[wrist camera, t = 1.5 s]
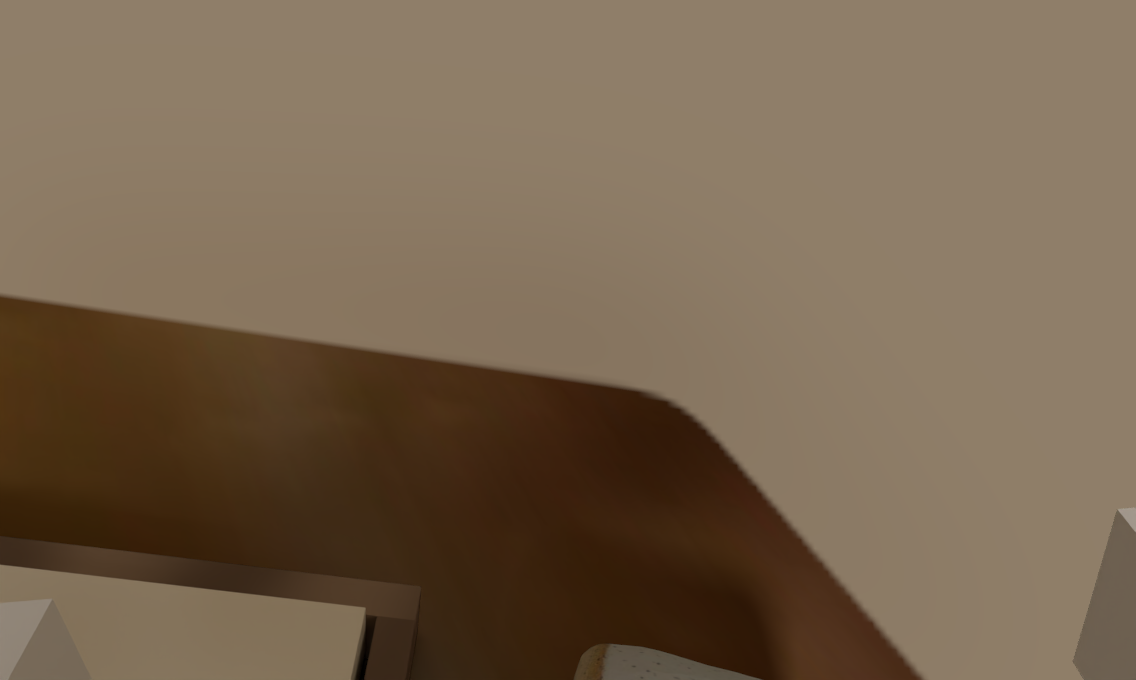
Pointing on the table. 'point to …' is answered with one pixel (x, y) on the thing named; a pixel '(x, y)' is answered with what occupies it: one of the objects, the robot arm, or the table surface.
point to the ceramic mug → (645, 665)
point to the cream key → (194, 629)
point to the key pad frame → (249, 590)
